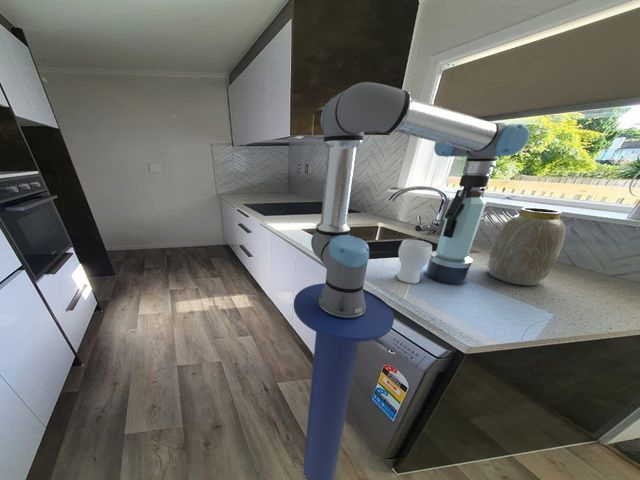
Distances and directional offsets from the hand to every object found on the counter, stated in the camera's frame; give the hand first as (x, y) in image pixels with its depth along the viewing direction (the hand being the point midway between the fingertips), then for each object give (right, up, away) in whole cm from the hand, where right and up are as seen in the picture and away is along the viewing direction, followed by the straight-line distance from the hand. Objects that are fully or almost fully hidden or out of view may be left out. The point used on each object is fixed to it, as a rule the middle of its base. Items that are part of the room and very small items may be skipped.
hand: (457, 234), depth 91 cm
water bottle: (0, -9, +3) cm, 9 cm away
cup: (-15, -18, +6) cm, 24 cm away
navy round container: (0, -17, +7) cm, 18 cm away
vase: (+26, -17, +5) cm, 31 cm away
